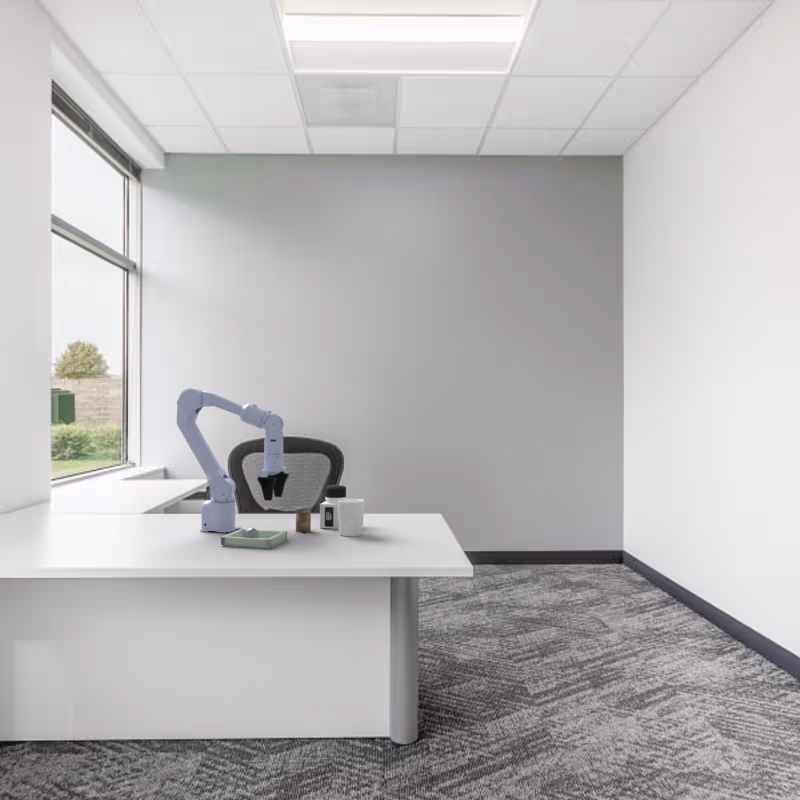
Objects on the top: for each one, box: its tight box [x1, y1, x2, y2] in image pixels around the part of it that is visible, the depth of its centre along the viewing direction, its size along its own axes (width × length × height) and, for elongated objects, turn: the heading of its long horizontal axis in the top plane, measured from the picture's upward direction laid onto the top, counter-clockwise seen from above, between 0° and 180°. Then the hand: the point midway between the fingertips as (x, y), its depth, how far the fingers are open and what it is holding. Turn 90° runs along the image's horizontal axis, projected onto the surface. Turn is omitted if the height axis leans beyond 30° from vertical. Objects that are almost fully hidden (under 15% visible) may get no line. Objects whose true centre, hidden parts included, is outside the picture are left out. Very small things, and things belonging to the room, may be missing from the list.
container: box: [319, 484, 347, 530], centre depth 200 cm, size 8×8×13 cm
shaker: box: [295, 506, 312, 534], centre depth 192 cm, size 5×5×7 cm
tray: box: [220, 528, 288, 550], centre depth 175 cm, size 14×12×2 cm
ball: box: [244, 527, 259, 538], centre depth 172 cm, size 4×4×4 cm
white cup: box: [338, 498, 365, 537], centre depth 188 cm, size 8×8×10 cm
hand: (273, 498), depth 194 cm, fingers open, 7 cm apart
